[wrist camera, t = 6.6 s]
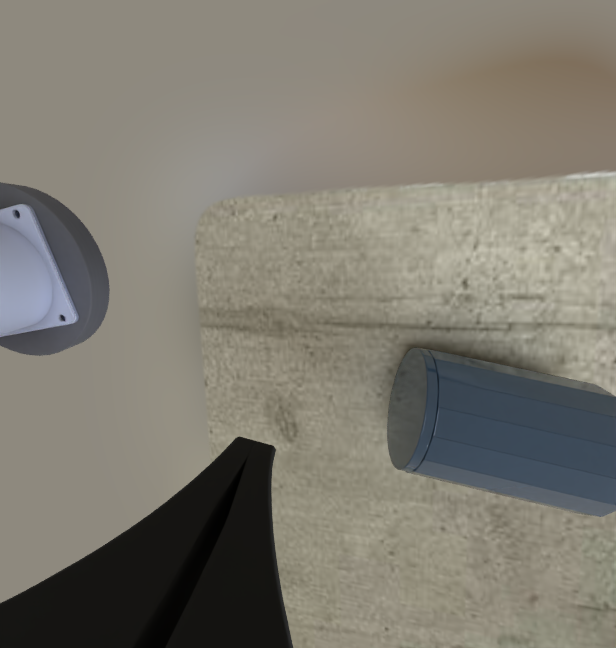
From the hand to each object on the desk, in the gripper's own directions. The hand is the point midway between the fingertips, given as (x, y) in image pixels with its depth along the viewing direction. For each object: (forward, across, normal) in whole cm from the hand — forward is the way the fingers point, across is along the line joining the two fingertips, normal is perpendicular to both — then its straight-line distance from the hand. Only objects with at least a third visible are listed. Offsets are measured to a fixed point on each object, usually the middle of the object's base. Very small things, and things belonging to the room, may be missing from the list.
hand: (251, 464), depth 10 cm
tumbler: (+6, -6, 0) cm, 9 cm away
